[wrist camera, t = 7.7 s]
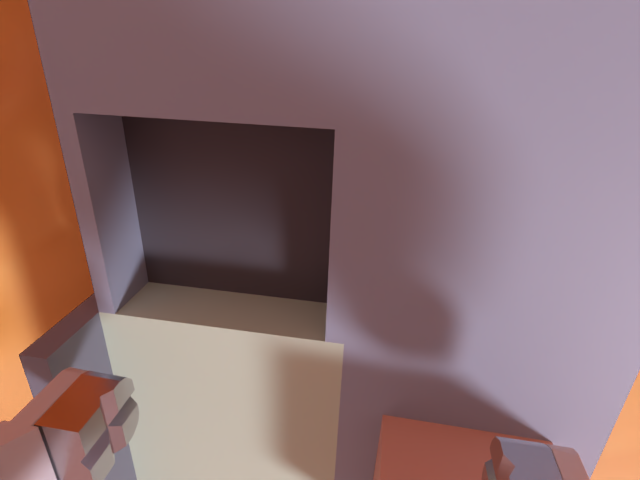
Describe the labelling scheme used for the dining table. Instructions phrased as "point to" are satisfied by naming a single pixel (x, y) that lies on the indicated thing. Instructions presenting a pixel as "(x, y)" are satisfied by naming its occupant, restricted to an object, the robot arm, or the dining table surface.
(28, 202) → the dining table surface
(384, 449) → the block
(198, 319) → the board
